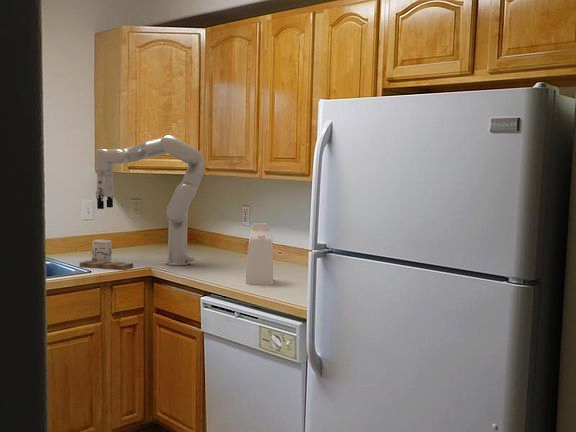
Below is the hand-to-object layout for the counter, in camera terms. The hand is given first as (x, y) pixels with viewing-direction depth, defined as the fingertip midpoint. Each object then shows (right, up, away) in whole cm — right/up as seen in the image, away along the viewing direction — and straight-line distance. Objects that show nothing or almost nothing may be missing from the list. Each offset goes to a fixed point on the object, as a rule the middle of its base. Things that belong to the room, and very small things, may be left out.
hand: (105, 208), depth 303 cm
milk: (+79, -33, -35) cm, 93 cm away
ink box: (-1, -28, -1) cm, 28 cm away
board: (+4, -29, -10) cm, 31 cm away
